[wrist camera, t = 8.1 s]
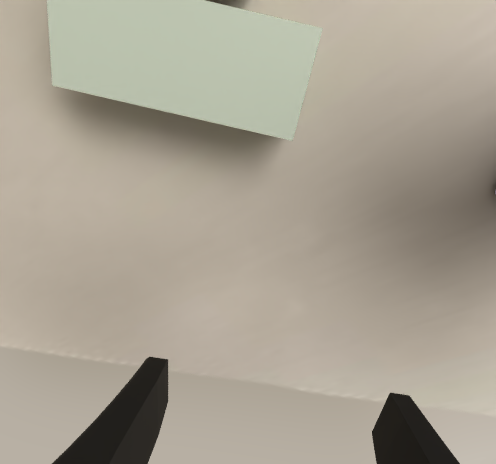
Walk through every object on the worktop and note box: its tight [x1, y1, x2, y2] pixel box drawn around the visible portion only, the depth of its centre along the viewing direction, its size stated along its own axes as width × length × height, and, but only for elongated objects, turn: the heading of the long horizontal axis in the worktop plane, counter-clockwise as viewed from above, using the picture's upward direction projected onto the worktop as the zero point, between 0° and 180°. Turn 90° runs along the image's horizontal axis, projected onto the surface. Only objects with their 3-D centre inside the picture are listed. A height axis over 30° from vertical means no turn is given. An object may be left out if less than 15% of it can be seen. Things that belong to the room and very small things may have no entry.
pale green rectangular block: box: [47, 0, 323, 141], centre depth 14 cm, size 10×4×4 cm, turn 78°
